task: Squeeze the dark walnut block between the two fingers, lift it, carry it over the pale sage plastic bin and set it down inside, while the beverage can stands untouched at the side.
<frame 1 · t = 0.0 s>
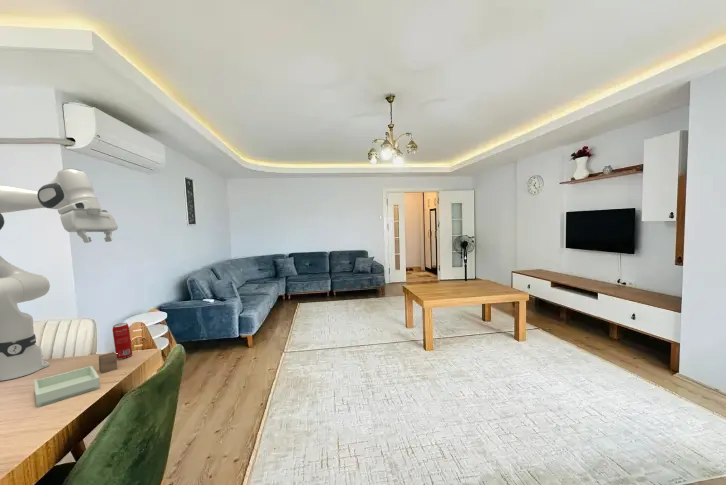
hand: (99, 241, 123), 52 cm above the table, tool tilted 20°, fingers open, 8 cm apart
beverage can: (123, 357, 140), on the table
walnut block: (108, 369, 127), on the table
bin: (67, 390, 111), on the table
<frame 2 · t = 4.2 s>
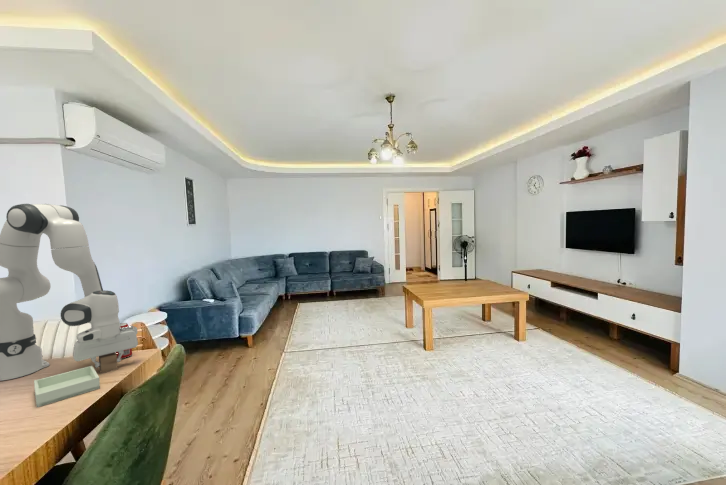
hand: (108, 364, 127), 2 cm above the table, tool pointing down, fingers closed on walnut block, 5 cm apart
walnut block: (108, 369, 127), on the table, touching gripper
everything else where it was.
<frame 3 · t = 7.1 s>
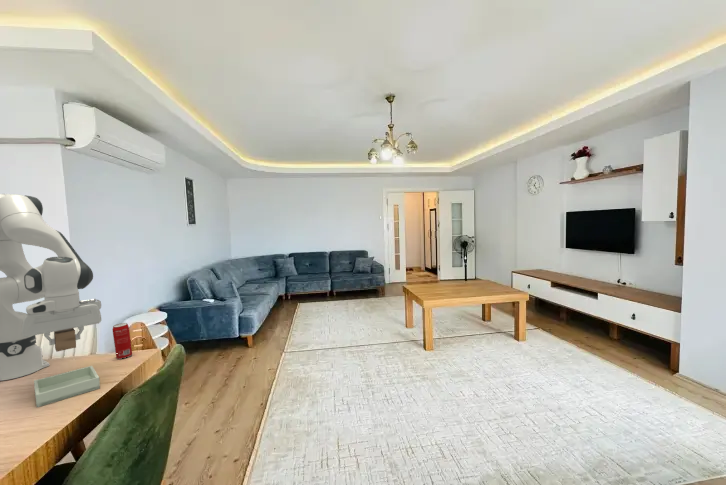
hand: (65, 341, 111), 17 cm above the table, tool pointing down, fingers closed on walnut block, 5 cm apart
walnut block: (65, 347, 111), point 15 cm above the table, touching gripper
everything else where it was.
when the fingers open (5 cm above the table, at t = 9.8 s): walnut block drops 2 cm, resting on bin.
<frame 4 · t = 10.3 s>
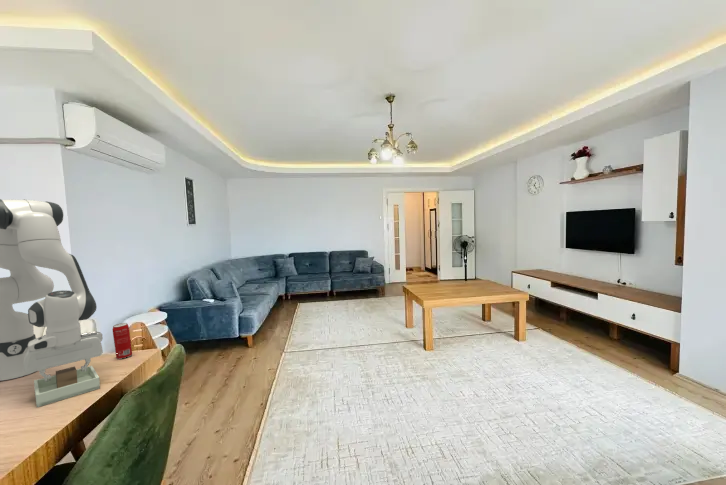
hand: (66, 375, 111), 5 cm above the table, tool pointing down, fingers open, 8 cm apart
walnut block: (67, 387, 111), point 1 cm above the table, touching bin
everything else where it was.
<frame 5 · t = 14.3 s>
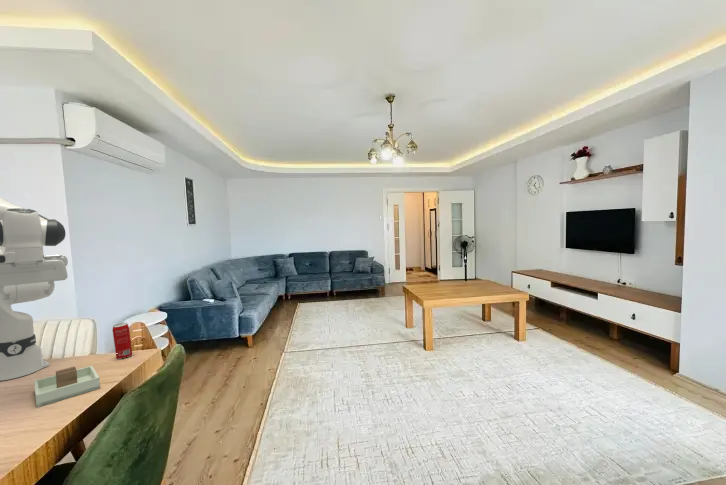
hand: (27, 297, 107), 34 cm above the table, tool pointing down, fingers open, 8 cm apart
nothing on the table moved.
at the end: walnut block inside the target area on the bin (0.0 cm from its centre), point 1.0 cm above the bin's base; walnut block tilted 0°; the gripper is holding nothing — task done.
